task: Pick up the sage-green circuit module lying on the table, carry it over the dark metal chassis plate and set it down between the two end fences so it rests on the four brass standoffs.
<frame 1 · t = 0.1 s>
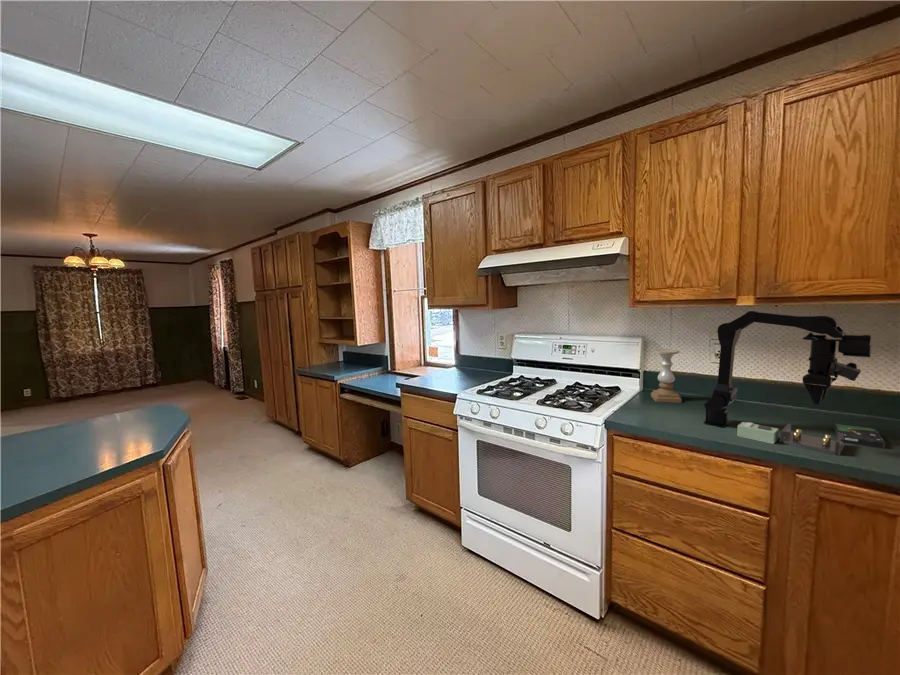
hand: (819, 401, 120), 15 cm above the counter, fingers open, 9 cm apart
chassis: (811, 444, 122), on the counter
candle holder: (665, 399, 179), on the counter
module: (757, 438, 129), on the counter
disk drive: (857, 439, 125), on the counter
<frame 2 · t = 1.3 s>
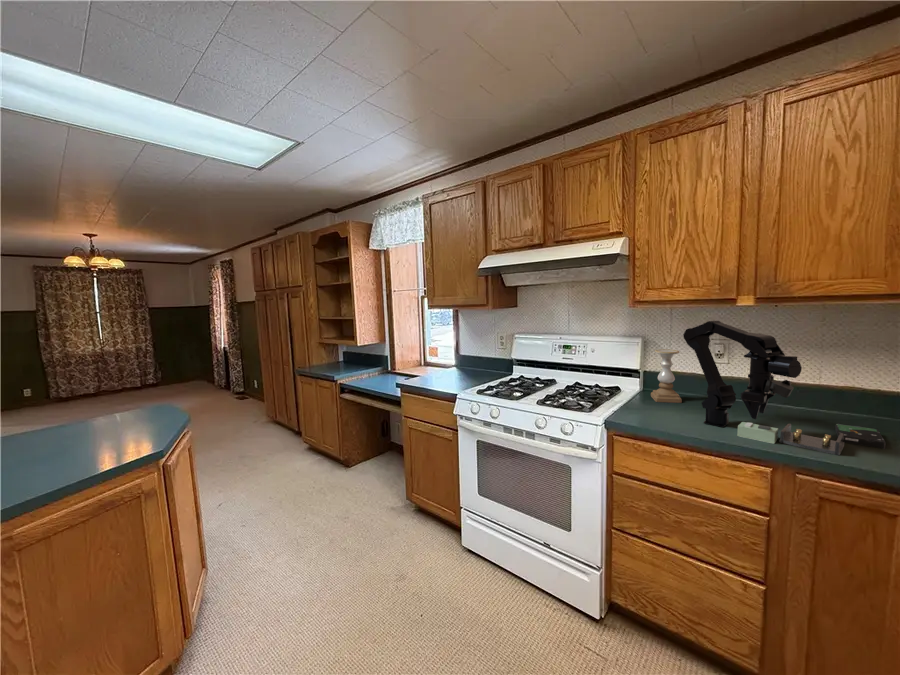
hand: (757, 415, 129), 8 cm above the counter, fingers open, 9 cm apart
nothing on the counter moved.
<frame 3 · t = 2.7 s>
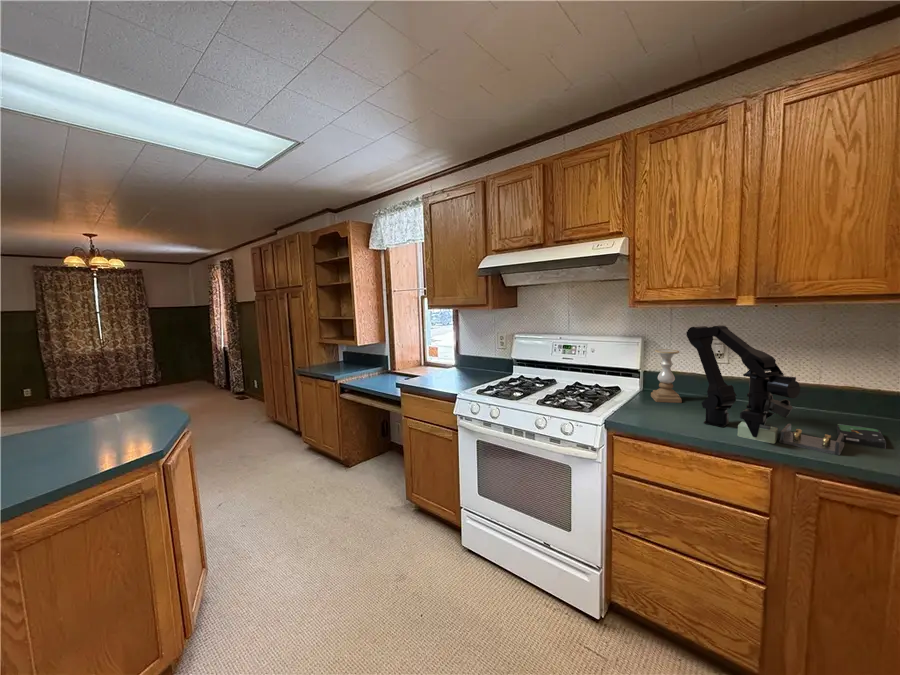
hand: (757, 434, 129), 1 cm above the counter, fingers closed on module, 6 cm apart
module: (757, 437, 129), on the counter, touching gripper
everything else where it was.
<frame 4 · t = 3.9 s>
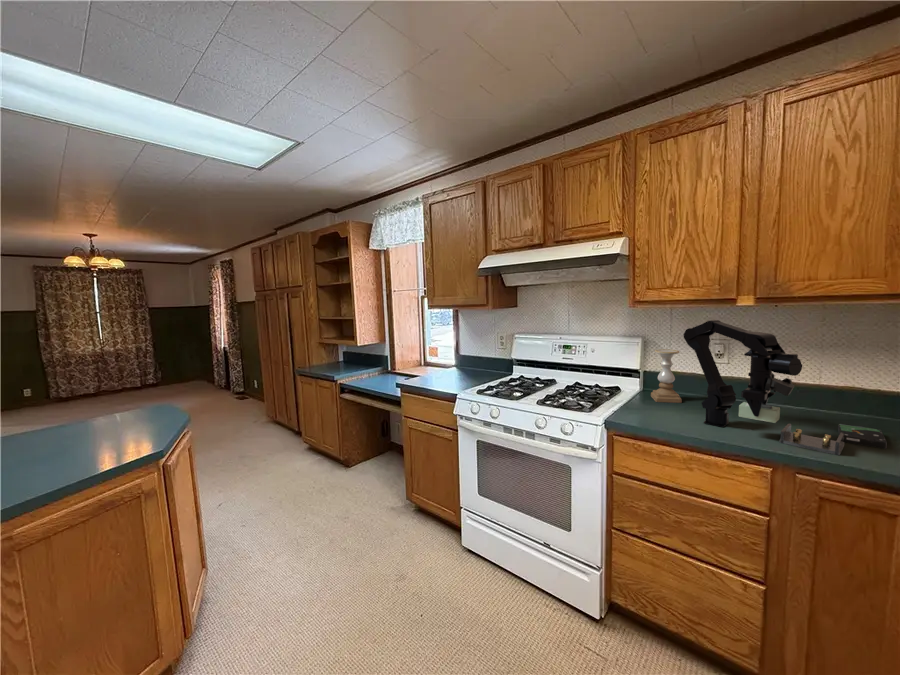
hand: (758, 414, 128), 8 cm above the counter, fingers closed on module, 6 cm apart
module: (758, 417, 128), point 7 cm above the counter, touching gripper
everything else where it was.
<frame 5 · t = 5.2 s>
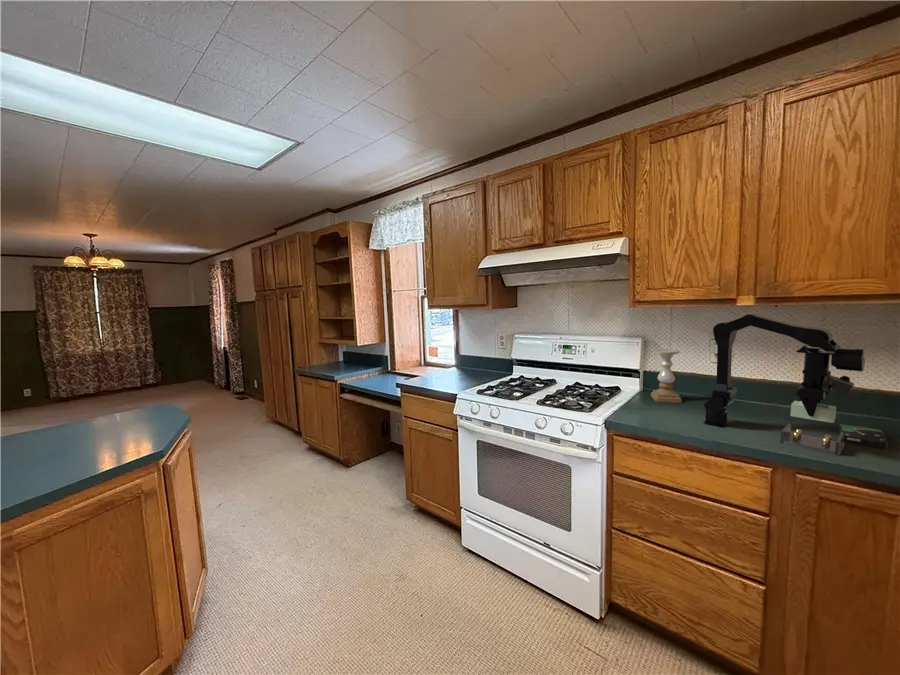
hand: (812, 413, 121), 10 cm above the counter, fingers closed on module, 6 cm apart
module: (812, 417, 121), point 9 cm above the counter, touching gripper
when the fingers open (5 cm above the counter, at t = 6.8 s): module stays where it is, resting on chassis.
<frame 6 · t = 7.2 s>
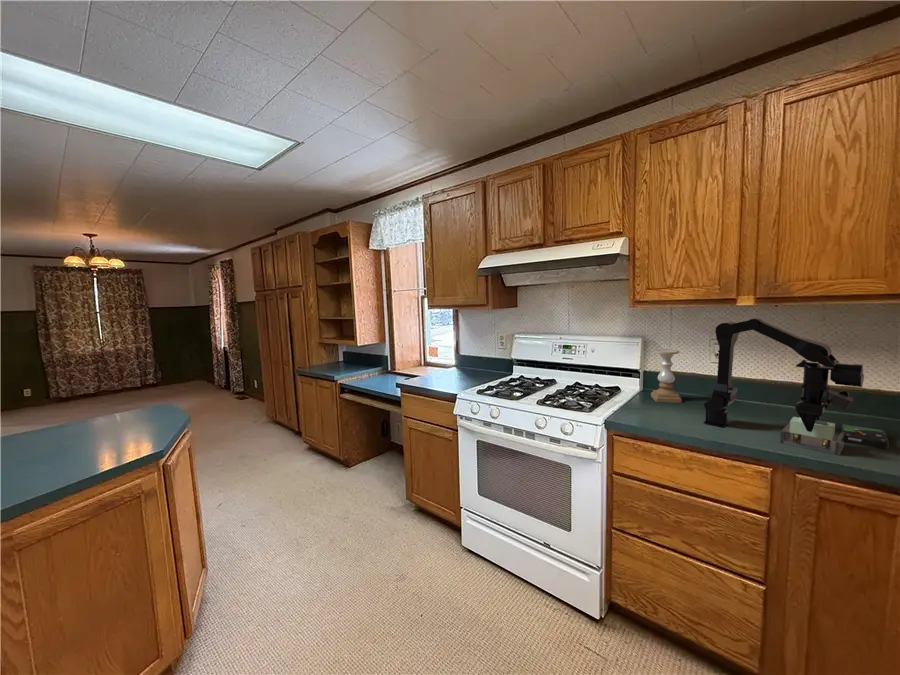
hand: (812, 428, 122), 5 cm above the counter, fingers open, 9 cm apart
module: (811, 433, 122), point 3 cm above the counter, touching chassis
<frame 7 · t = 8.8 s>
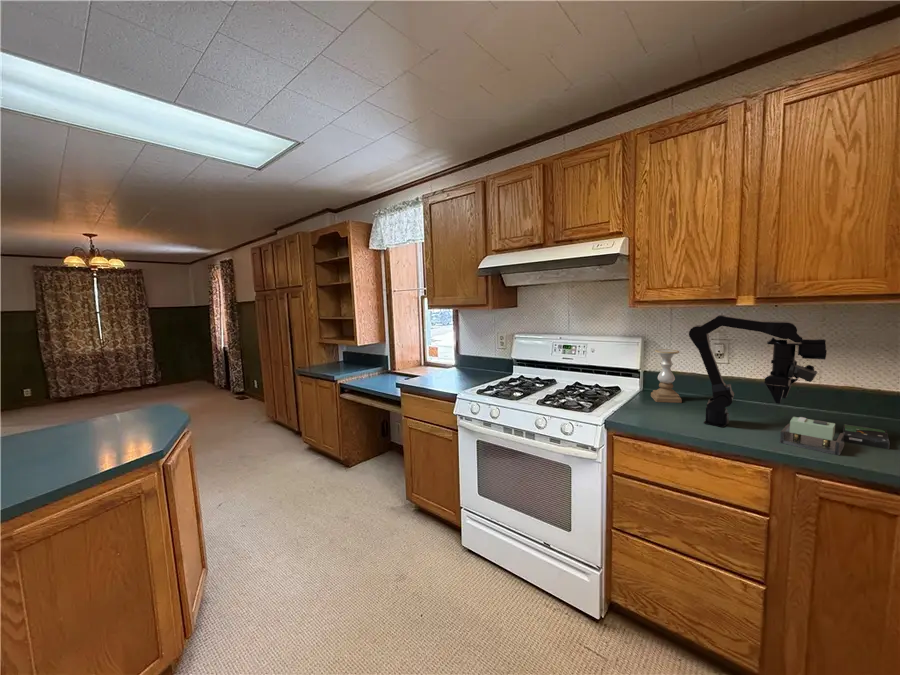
hand: (781, 400, 131), 12 cm above the counter, fingers open, 9 cm apart
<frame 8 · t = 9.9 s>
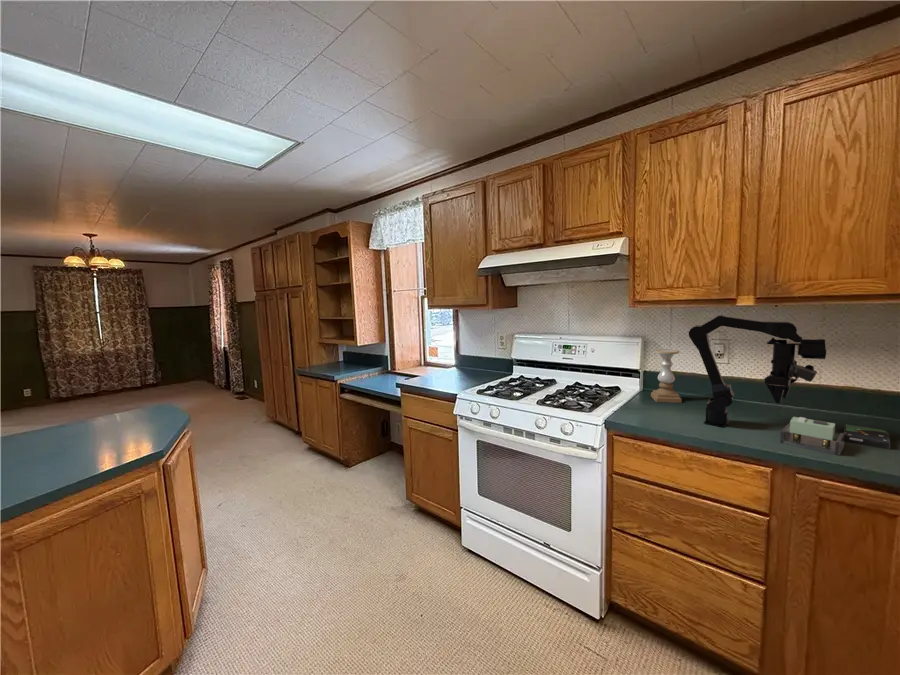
hand: (781, 400, 131), 12 cm above the counter, fingers open, 9 cm apart
at the end: module 0.1 cm off-centre on the chassis, point 3.5 cm above the chassis's base; module tilted 0°; the gripper is holding nothing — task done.
